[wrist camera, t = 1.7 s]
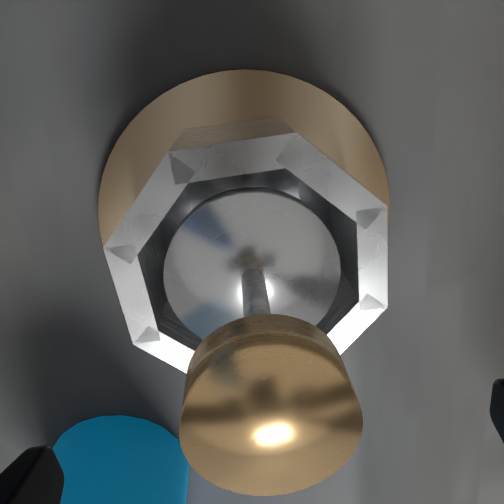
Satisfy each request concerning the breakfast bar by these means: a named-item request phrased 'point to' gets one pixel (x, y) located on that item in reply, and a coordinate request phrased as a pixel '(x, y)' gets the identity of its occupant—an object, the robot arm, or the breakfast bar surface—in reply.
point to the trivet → (229, 110)
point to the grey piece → (236, 176)
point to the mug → (121, 463)
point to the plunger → (260, 344)
